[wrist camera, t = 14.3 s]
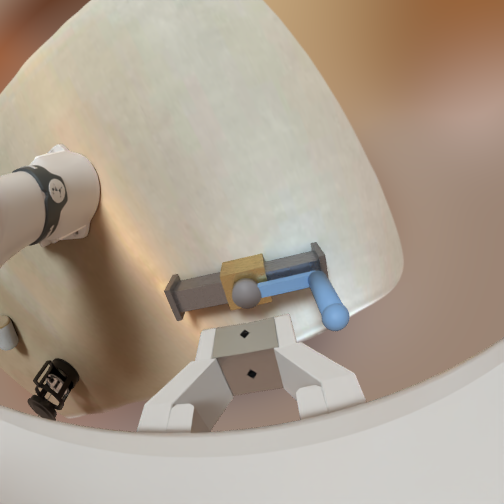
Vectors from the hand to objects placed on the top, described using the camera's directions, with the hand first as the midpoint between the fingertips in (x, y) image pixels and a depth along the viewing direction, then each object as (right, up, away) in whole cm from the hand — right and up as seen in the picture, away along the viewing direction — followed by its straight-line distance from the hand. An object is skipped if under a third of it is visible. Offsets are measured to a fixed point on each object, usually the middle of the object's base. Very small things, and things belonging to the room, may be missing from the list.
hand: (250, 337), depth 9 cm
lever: (+4, -2, +34) cm, 34 cm away
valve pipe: (-1, -1, +40) cm, 40 cm away
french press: (-53, -30, +50) cm, 79 cm away
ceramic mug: (-72, -19, +46) cm, 87 cm away
